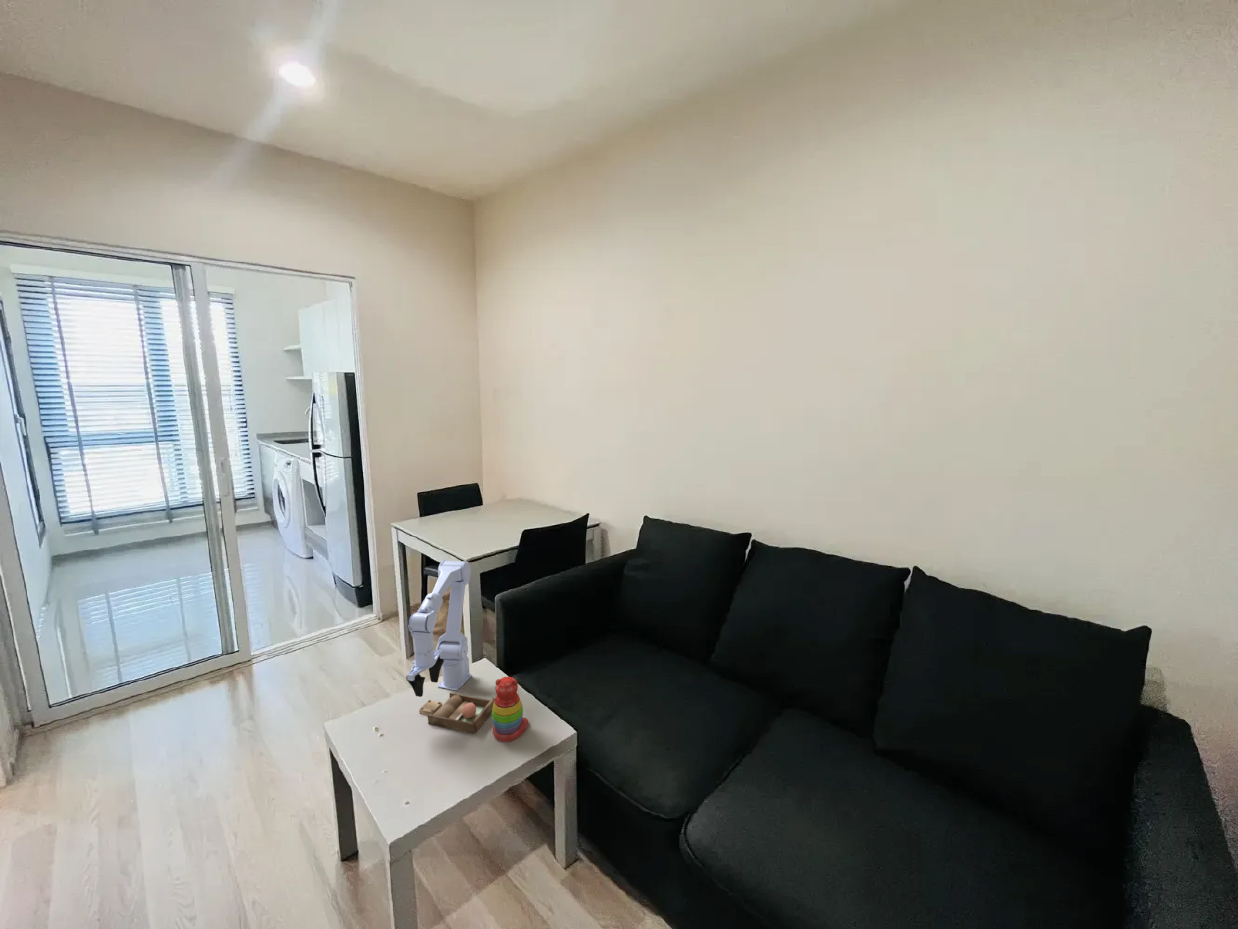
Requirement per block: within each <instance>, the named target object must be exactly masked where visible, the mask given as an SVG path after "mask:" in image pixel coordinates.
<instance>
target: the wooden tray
mask: <svg viewBox="0 0 1238 929" xmlns="http://www.w3.org/2000/svg"><path fill="white" fill-rule="evenodd" d="M495 698H496V697H492V698H491V699H486V698H481V697H475V696H470V695H465V694H460V693H456V692H449V698H448V699H447V700H446V701H445V702H444V703H442V706H441V707H440V708H439V709H438V710H437V711H436V712H435V713H434V714H433V715H431V714H429V715H427V724H428V725H432V726H436V727H440V728H446V729H451V730H455V731H460V732H465V733H470V734H473V735H476V734H477V733H478V732H479V730H480V729H481V728H482V726H483V725H484V724H485V723H486V721H488V720H489V717H491V716H492V708H493V703H494V700H495ZM467 703H473V704H474V705H475V706H476V713H475V715H474V716H473V717H471V718H465V717H464V716H463V714H462V709H463V707H464V706H465V705H466V704H467Z"/></svg>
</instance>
